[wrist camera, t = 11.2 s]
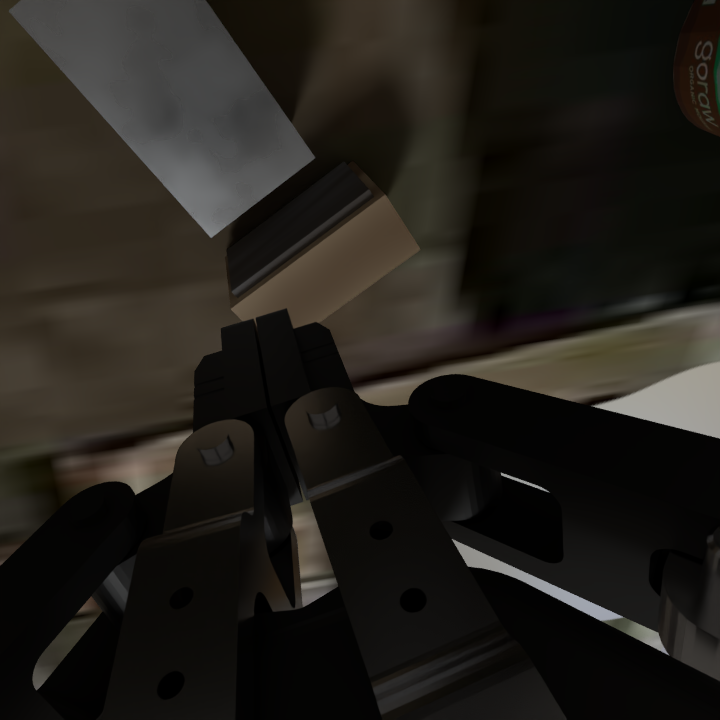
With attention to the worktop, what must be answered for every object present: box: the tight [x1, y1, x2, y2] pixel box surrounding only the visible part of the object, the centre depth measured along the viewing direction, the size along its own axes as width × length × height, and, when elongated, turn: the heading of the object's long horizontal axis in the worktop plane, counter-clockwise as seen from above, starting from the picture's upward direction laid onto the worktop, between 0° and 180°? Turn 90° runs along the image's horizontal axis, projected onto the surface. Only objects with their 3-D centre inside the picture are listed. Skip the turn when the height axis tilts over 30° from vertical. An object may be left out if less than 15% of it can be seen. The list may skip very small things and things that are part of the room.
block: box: [9, 0, 315, 237], centre depth 23 cm, size 9×5×7 cm, turn 33°
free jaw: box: [225, 161, 421, 328], centre depth 28 cm, size 3×8×6 cm, turn 123°
